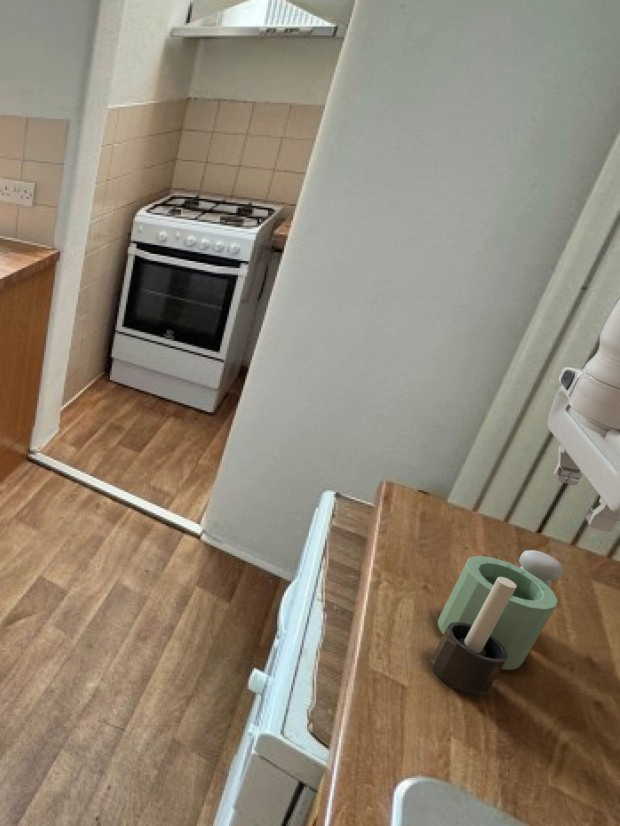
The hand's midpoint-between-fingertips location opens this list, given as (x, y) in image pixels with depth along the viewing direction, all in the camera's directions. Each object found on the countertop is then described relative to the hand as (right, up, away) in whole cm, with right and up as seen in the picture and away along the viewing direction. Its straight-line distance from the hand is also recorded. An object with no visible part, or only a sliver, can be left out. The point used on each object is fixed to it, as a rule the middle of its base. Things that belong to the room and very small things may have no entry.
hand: (579, 502), depth 73 cm
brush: (-4, -28, +11) cm, 30 cm away
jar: (+5, -27, +17) cm, 32 cm away
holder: (-3, -29, +12) cm, 31 cm away
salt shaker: (+13, -26, +20) cm, 35 cm away
